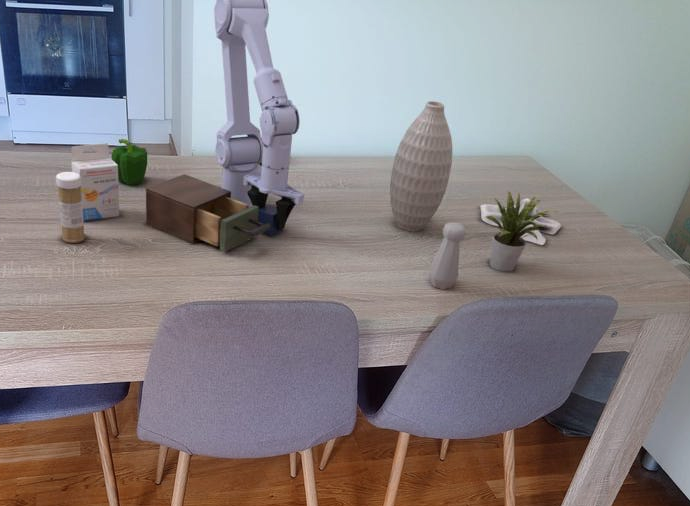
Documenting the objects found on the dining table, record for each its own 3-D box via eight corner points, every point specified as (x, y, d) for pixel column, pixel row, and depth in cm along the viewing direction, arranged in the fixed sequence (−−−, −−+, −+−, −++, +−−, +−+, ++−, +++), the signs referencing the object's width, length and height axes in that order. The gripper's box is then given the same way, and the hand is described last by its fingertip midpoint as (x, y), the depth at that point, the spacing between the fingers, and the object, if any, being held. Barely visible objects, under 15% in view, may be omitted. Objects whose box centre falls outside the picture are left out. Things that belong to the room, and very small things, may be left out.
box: (256, 230, 156) (258, 209, 153) (267, 225, 159) (269, 204, 156) (271, 236, 154) (273, 215, 151) (282, 230, 157) (284, 209, 154)
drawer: (275, 243, 150) (278, 214, 146) (244, 260, 142) (246, 230, 138) (212, 217, 157) (213, 189, 153) (178, 232, 149) (179, 203, 145)
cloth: (464, 209, 178) (470, 186, 175) (521, 203, 186) (528, 181, 182) (522, 248, 162) (530, 223, 159) (582, 240, 170) (591, 216, 166)
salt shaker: (423, 276, 146) (437, 217, 138) (450, 277, 146) (465, 219, 139) (430, 290, 141) (445, 230, 134) (458, 291, 142) (474, 232, 134)
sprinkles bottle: (82, 232, 146) (77, 170, 139) (87, 242, 143) (83, 178, 136) (59, 235, 145) (53, 171, 137) (64, 245, 141) (58, 180, 134)
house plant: (523, 291, 145) (548, 217, 135) (460, 269, 150) (480, 196, 141) (542, 267, 155) (566, 197, 146) (482, 247, 160) (502, 178, 151)
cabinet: (229, 226, 156) (231, 191, 151) (192, 243, 147) (193, 207, 143) (183, 208, 162) (184, 174, 157) (146, 224, 153) (145, 188, 148)
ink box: (82, 222, 151) (77, 154, 142) (74, 213, 154) (69, 146, 145) (120, 216, 155) (118, 150, 146) (111, 207, 158) (108, 142, 150)
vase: (442, 223, 169) (471, 103, 153) (428, 242, 160) (457, 116, 143) (392, 210, 173) (415, 91, 157) (375, 228, 163) (398, 103, 147)
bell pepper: (155, 181, 173) (155, 141, 167) (132, 190, 167) (131, 148, 161) (129, 172, 176) (128, 132, 171) (106, 180, 170) (104, 139, 165)
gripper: (236, 159, 148) (232, 219, 156) (293, 179, 142) (286, 241, 150) (256, 152, 153) (252, 210, 161) (312, 171, 147) (304, 231, 155)
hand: (270, 224), depth 156 cm, fingers open, 5 cm apart
